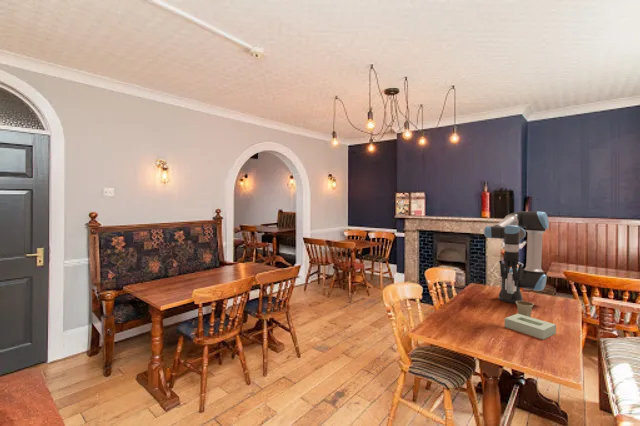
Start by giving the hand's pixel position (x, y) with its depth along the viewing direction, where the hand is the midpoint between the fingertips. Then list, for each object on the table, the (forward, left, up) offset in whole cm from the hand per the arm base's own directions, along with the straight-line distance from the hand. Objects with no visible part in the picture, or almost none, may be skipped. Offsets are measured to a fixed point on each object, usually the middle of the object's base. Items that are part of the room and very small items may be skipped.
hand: (510, 290), depth 189 cm
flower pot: (-16, 0, -19) cm, 25 cm away
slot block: (+3, +12, -19) cm, 23 cm away
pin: (0, 0, -2) cm, 2 cm away
